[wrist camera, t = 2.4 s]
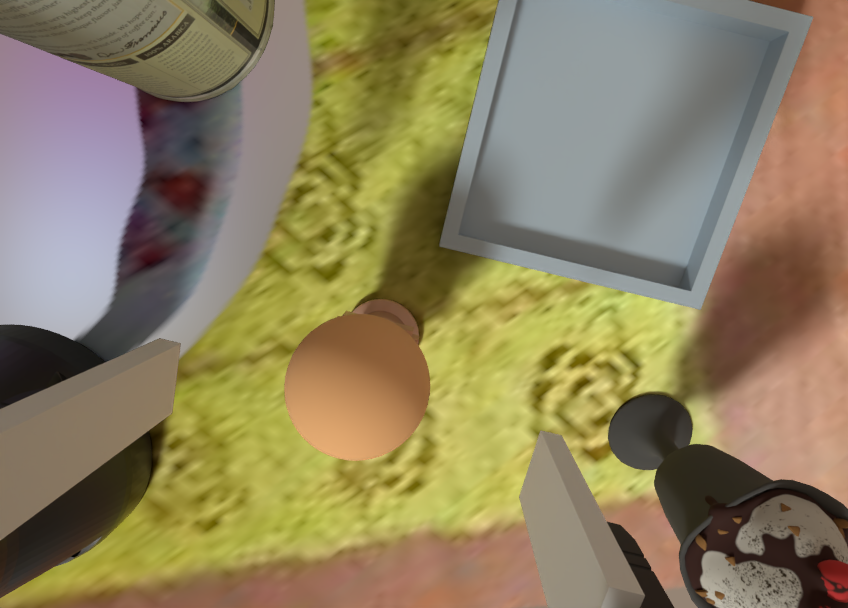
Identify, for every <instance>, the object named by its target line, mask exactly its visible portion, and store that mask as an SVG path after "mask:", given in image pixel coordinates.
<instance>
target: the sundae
mask: <svg viewBox="0 0 848 608" xmlns="http://www.w3.org/2000/svg"><path fill="white" fill-rule="evenodd" d="M691 437H692V423H691V419H690V416H689V414H688V412H687V411H686V409H685V408H684V407H683V406H682V405H681V404H680V403H679V402H677V401H676V400H674V399H672V398H669V397H667V396H663V395H645V396H641V397H638V398H635V399H632V400H631V401H629V402H628V403H626V404H625V405H624V406H622V407H621V408H620V409H619V410H618V411H617V413H616V414H615V415H614V417H613V419H612V421H611V423H610V427H609V433H608V439H609V444H610V447H611V450H612V452H613V453H614V454H615V456H616V457H617V458H618V459H619V460H620V461H621V462H623V463H624V464H626V465H628V466H630V467H633V468H635V469H642V470H654V469H657V471H656V475H655V480H654V486H655V490H656V492H657V495H658V497H659V500H660V503H661V505H662V508H663V510H664V513H665V515H666V517H667V519H668V521H669V523H670V525H671V527H672V528H673V530H674V532H675V534H676V536H677V538H678V540H679V542H680V544H681V547H680V551H679V562H680V570H681V574H682V577H683V580H684V583H685V586H686V588H687V590H688V593H689V595H690V597H691V599H692V601H693V602H694V603H695V605H696V606H697V607H698V608H848V509H847V508H846V507H845V506H844V505H843V504H842V503H841V502H839V501H837V500H836V499H834V498H833V497H831V496H830V495H828V494H826V493H824V492H822V491H820V490H818V489H816V488H815V487H813V486H810V485H807V484H803V483H800V482H797V481H793V480H782V479H781V480H776V481H773V480H771V479H769V478H768V477H766V476H765V475H763V474H761V473H760V472H758V471H756V470H755V469H753V468H752V467H750V466H748V465H747V464H745V463H744V462H742V461H740V460H739V459H737V458H735V457H733V456H731V455H729V454H727V453H725V452H723V451H721V450H719V449H717V448H715V447H713V446H709V445H701V444H693V445H689V444H690V440H691ZM688 445H689V446H688Z"/></svg>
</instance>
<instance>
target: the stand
mask: <svg viewBox="0 0 848 608" xmlns="http://www.w3.org/2000/svg"><path fill="white" fill-rule="evenodd" d="M351 314H369V315H374V316H378V317H382V318H385V319H387V320H389V321H391V322H393V323H395V324H397V325H398V326H400V327H401V328H402V329H404V330H405V331H406V332H407V333H408V334H409V335H410V336H411V337H412V338H413V339H414V340H415V342H416V343H417V344H418V342H419V329H418V325H417V323H416V320H415V318H414V317H413V315H412V314H411V312H410V311H409V310H408V309H407V308H405V307H404V306H403V305H401V304H400V303H397V302H395V301H392V300H388V299H373V300H369V301H366V302H364V303H362V304H361V305H359V306H358V307H357V308H356V309H355V310H354V311H353V312H348V311H346V312H345V313H344V314H343V316H345V315H351ZM337 317H340V316H337Z"/></svg>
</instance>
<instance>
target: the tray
mask: <svg viewBox="0 0 848 608" xmlns="http://www.w3.org/2000/svg"><path fill="white" fill-rule="evenodd" d="M812 19H813V17H812V16H808V15H804V14H800V13H796V12H792V11H788V10H784V9H780V8H776V7H772V6H768V5H764V4H761V3H757V2H753V1H749V0H498V4H497V8H496V12H495V17H494V21H493V25H492V29H491V33H490V37H489V41H488V45H487V49H486V53H485V58H484V62H483V66H482V70H481V74H480V78H479V82H478V86H477V90H476V94H475V99H474V103H473V107H472V111H471V115H470V119H469V123H468V127H467V131H466V135H465V140H464V144H463V148H462V152H461V156H460V160H459V164H458V168H457V172H456V177H455V181H454V185H453V189H452V193H451V197H450V201H449V205H448V209H447V213H446V218H445V222H444V226H443V230H442V234H441V238H440V242H439V246H440V247H444V248H448V249H452V250H456V251H460V252H464V253H468V254H473V255H477V256H481V257H485V258H489V259H493V260H497V261H501V262H506V263H510V264H514V265H518V266H522V267H526V268H530V269H534V270H539V271H543V272H547V273H551V274H555V275H559V276H563V277H567V278H572V279H576V280H580V281H584V282H588V283H592V284H596V285H601V286H605V287H609V288H613V289H617V290H621V291H625V292H629V293H634V294H638V295H642V296H646V297H650V298H654V299H658V300H662V301H667V302H671V303H675V304H679V305H683V306H687V307H691V308H695V309H700V310H701V307H702V304H703V302H704V299H705V297H706V294H707V292H708V289H709V286H710V284H711V281H712V279H713V276H714V273H715V271H716V268H717V266H718V263H719V260H720V258H721V255H722V253H723V250H724V247H725V245H726V242H727V240H728V237H729V235H730V232H731V229H732V227H733V224H734V222H735V219H736V216H737V214H738V211H739V209H740V206H741V203H742V201H743V198H744V196H745V193H746V190H747V188H748V185H749V183H750V180H751V178H752V175H753V172H754V170H755V167H756V165H757V162H758V159H759V157H760V154H761V152H762V149H763V146H764V144H765V141H766V139H767V136H768V133H769V131H770V128H771V126H772V123H773V120H774V118H775V115H776V113H777V110H778V108H779V105H780V102H781V100H782V97H783V95H784V92H785V89H786V87H787V84H788V82H789V79H790V76H791V74H792V71H793V69H794V66H795V63H796V61H797V58H798V56H799V53H800V51H801V48H802V45H803V43H804V40H805V38H806V35H807V32H808V30H809V27H810V25H811V22H812Z"/></svg>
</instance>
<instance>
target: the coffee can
mask: <svg viewBox="0 0 848 608" xmlns="http://www.w3.org/2000/svg"><path fill="white" fill-rule="evenodd" d="M274 4H275V0H0V34H2V35H5V36H8V37H10V38H13V39H16V40H18V41H21V42H23V43H26V44H28V45H31V46H33V47H36V48H39V49H41V50H43V51H46V52H48V53H51V54H54V55H56V56H59V57H61V58H63V59H66V60H68V61H71V62H74V63H76V64H79V65H81V66H84V67H86V68H89V69H91V70H94V71H96V72H99V73H102V74H104V75H107V76H110V77H112V78H115V79H117V80H120V81H122V82H125V83H127V84H130V85H132V86H135V87H137V88H139V89H141V90H142V91H144V92H146V93H149V94H151V95H153V96H155V97H158V98H162V99H165V100H172V101H178V102H194V101H202V100H206V99H210V98H213V97H216V96H218V95H221V94H222V93H224V92H226V91H228V90H231V89H233V88H234V87H235V86H236V85H237V84H238V83H239V82H240V81H242V80H243V79H244V78H245V77H246V76H247V75H248V74H249V73H250V72H251V70H252V69H253V68H254V67H255V66H256V64H257V62H258V61H259V59H260V58H261V56H262V54H263V52H264V50H265V48H266V45H267V43H268V40H269V37H270V33H271V30H272V27H273V18H274Z"/></svg>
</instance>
